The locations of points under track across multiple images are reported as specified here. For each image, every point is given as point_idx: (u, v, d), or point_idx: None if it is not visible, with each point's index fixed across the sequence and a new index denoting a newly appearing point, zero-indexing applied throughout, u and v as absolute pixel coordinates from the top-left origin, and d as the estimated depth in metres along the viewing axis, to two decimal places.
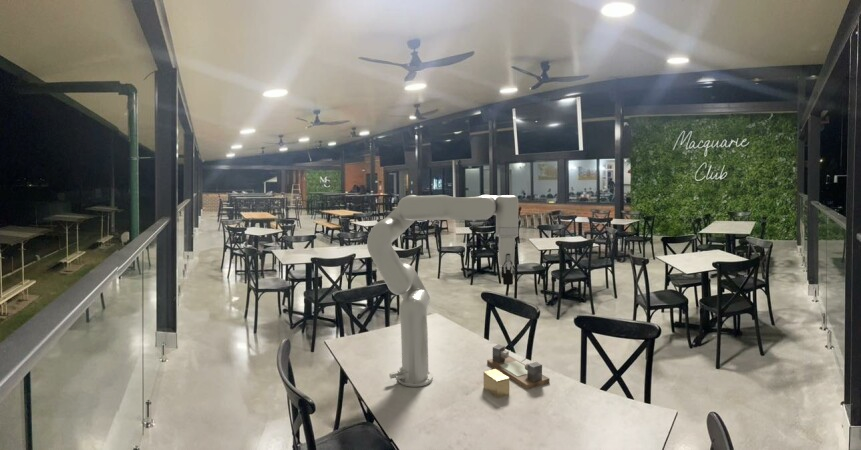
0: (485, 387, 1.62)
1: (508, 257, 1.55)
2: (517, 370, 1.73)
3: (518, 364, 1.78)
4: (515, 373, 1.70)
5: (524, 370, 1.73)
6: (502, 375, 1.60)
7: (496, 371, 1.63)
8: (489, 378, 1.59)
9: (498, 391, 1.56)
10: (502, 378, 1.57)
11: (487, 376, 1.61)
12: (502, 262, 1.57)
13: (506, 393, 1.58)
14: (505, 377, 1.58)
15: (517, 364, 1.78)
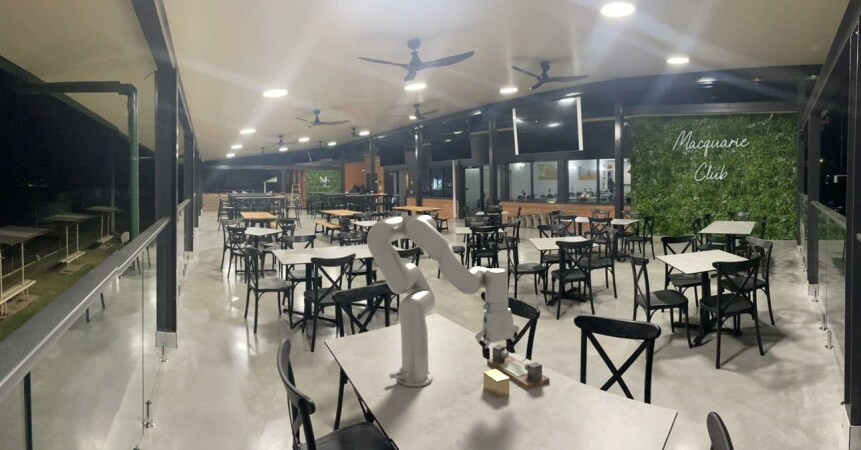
0: (485, 387, 1.62)
1: None
2: (517, 370, 1.73)
3: (518, 364, 1.78)
4: (515, 373, 1.70)
5: (524, 370, 1.73)
6: (502, 375, 1.60)
7: (496, 371, 1.63)
8: (489, 378, 1.59)
9: (498, 391, 1.56)
10: (502, 378, 1.58)
11: (487, 376, 1.61)
12: None
13: (506, 393, 1.58)
14: (505, 377, 1.58)
15: (517, 364, 1.78)
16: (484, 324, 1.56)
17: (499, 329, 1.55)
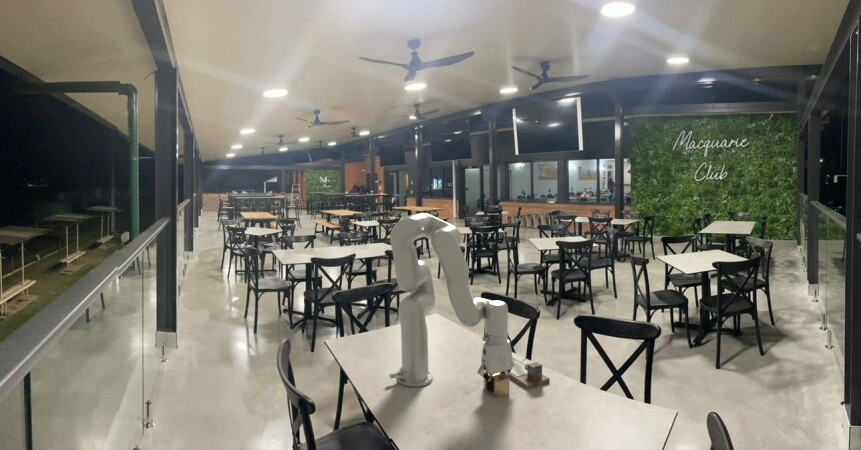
0: (485, 387, 1.62)
1: None
2: (517, 370, 1.73)
3: (518, 364, 1.78)
4: (515, 373, 1.70)
5: (524, 370, 1.73)
6: (502, 375, 1.60)
7: None
8: None
9: (498, 391, 1.56)
10: (502, 378, 1.57)
11: None
12: None
13: (506, 393, 1.58)
14: (505, 377, 1.58)
15: (517, 364, 1.78)
16: (483, 356, 1.57)
17: (498, 361, 1.57)
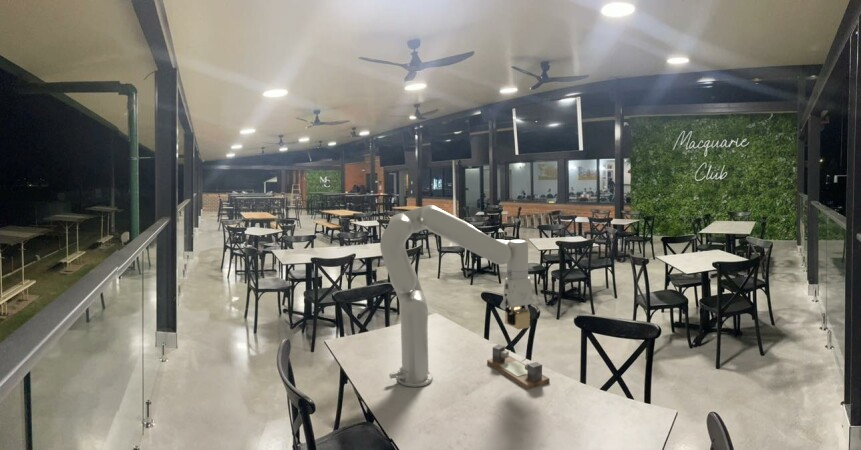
0: (507, 321, 1.74)
1: None
2: (517, 370, 1.73)
3: (518, 364, 1.78)
4: (515, 373, 1.70)
5: (524, 370, 1.73)
6: (523, 309, 1.71)
7: (517, 307, 1.74)
8: None
9: (519, 323, 1.68)
10: (523, 311, 1.69)
11: None
12: None
13: (527, 325, 1.69)
14: (526, 310, 1.70)
15: (517, 364, 1.78)
16: (505, 290, 1.69)
17: (519, 295, 1.68)
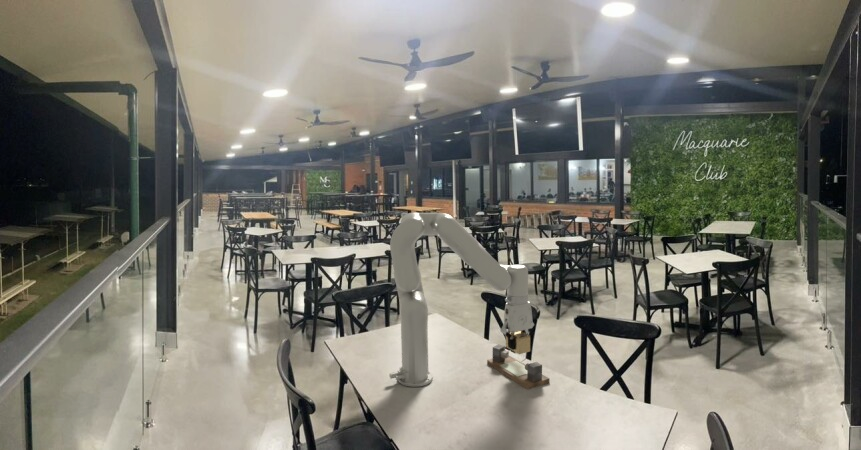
0: (507, 345, 1.75)
1: None
2: (517, 370, 1.73)
3: (518, 364, 1.78)
4: (515, 373, 1.70)
5: (524, 370, 1.73)
6: (523, 333, 1.72)
7: None
8: None
9: (520, 348, 1.69)
10: (523, 336, 1.70)
11: None
12: None
13: (527, 350, 1.71)
14: (526, 335, 1.71)
15: (517, 364, 1.78)
16: (505, 315, 1.70)
17: (519, 320, 1.69)
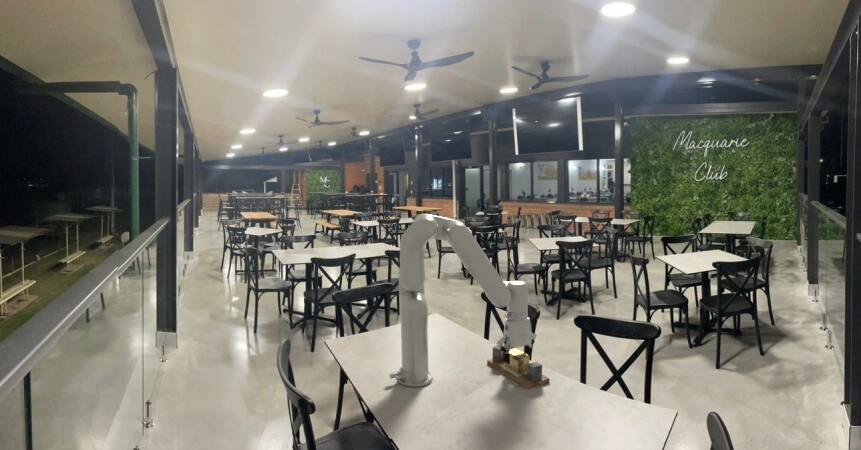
0: (506, 364, 1.76)
1: None
2: None
3: None
4: (515, 373, 1.70)
5: None
6: (522, 353, 1.73)
7: (516, 350, 1.76)
8: (511, 356, 1.73)
9: (519, 368, 1.70)
10: (523, 355, 1.71)
11: None
12: None
13: None
14: (525, 355, 1.72)
15: None
16: (505, 331, 1.71)
17: (519, 336, 1.70)
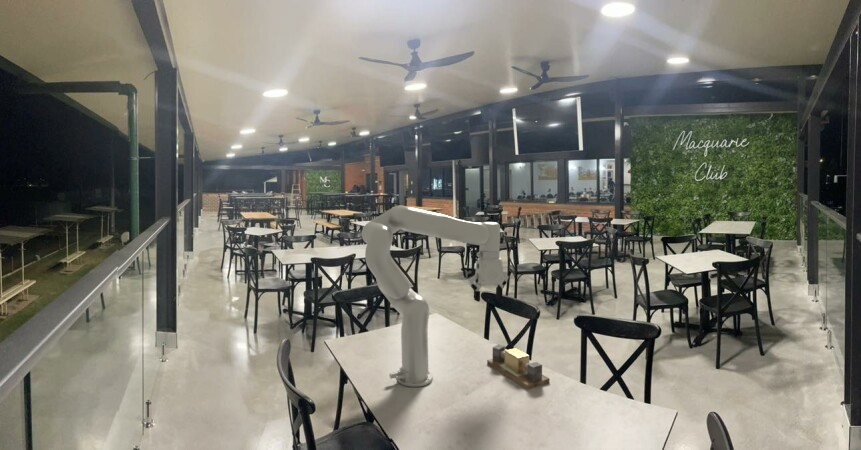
0: (506, 364, 1.76)
1: (502, 273, 1.81)
2: None
3: None
4: (515, 373, 1.70)
5: None
6: (522, 353, 1.73)
7: (516, 350, 1.76)
8: (511, 356, 1.73)
9: (519, 368, 1.70)
10: (523, 355, 1.71)
11: (508, 354, 1.74)
12: None
13: None
14: (525, 355, 1.72)
15: None
16: (477, 270, 1.76)
17: (490, 275, 1.75)
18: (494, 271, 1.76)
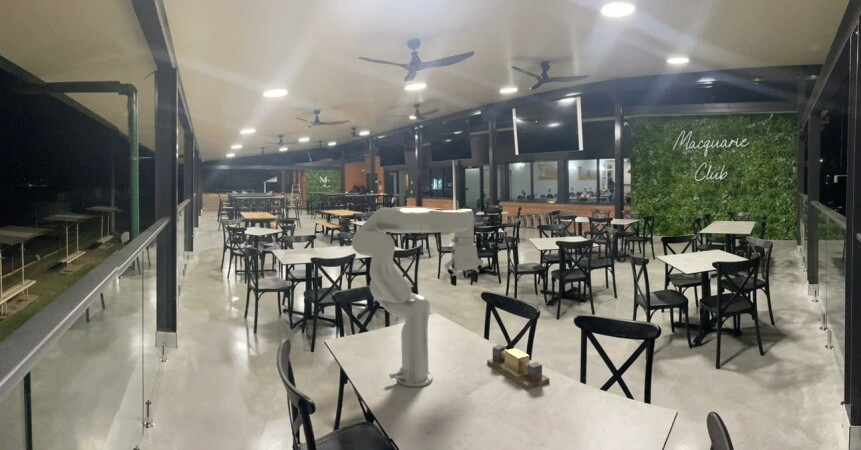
0: (506, 364, 1.76)
1: (477, 258, 1.88)
2: None
3: None
4: (515, 373, 1.70)
5: None
6: (522, 353, 1.73)
7: (516, 350, 1.76)
8: (511, 356, 1.73)
9: (519, 368, 1.70)
10: (523, 355, 1.71)
11: (508, 354, 1.74)
12: None
13: None
14: (525, 355, 1.72)
15: None
16: (452, 255, 1.83)
17: (465, 260, 1.82)
18: (469, 256, 1.83)
